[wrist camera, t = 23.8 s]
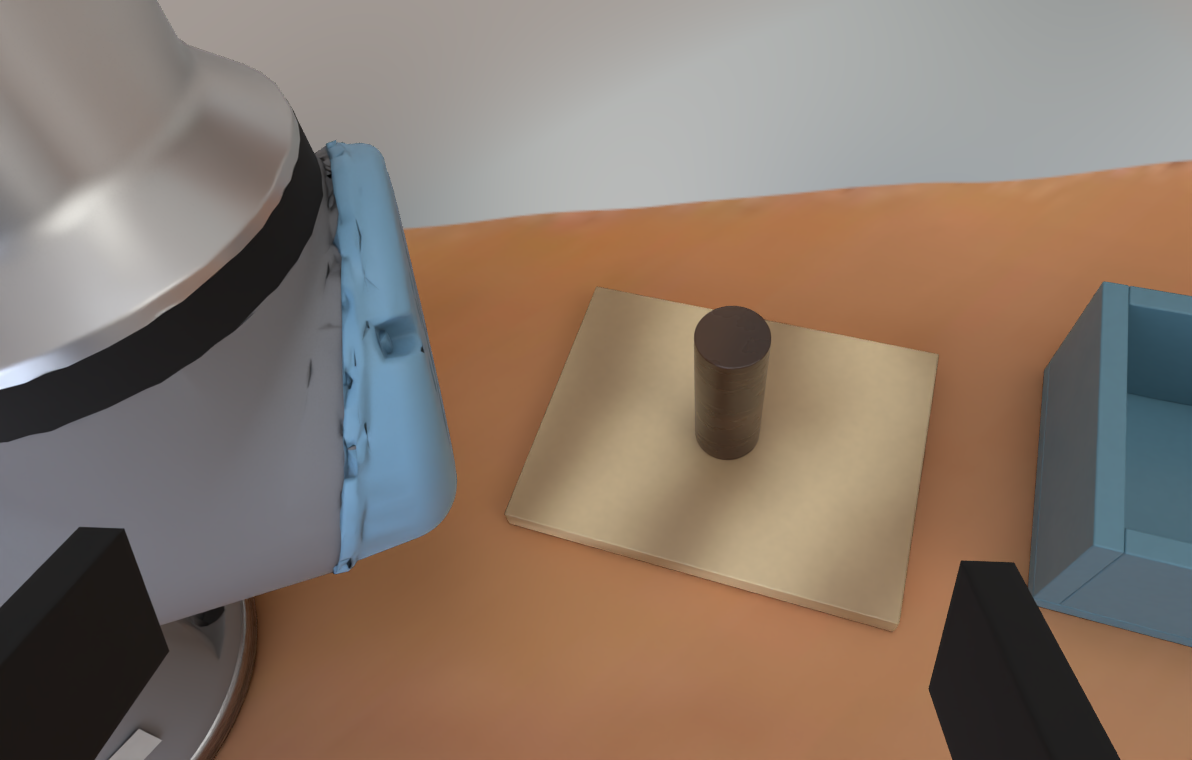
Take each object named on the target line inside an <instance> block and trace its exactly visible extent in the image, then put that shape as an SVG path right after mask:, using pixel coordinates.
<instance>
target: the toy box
mask: <svg viewBox="0 0 1192 760" xmlns="http://www.w3.org/2000/svg"><path fill="white" fill-rule="evenodd" d="M1028 589H1029V591H1030V593H1031V595H1032V597H1033V598H1034V600H1035V602H1036V604H1037V606H1039V607H1043V608H1047V609H1051V610H1054V611H1058V612H1062V613H1066V614H1069V615H1073V616H1077V617H1081V618H1085V619H1088V620H1092V621H1096V622H1100V623H1103V624H1107V625H1111V626H1115V627H1118V628H1122V629H1126V630H1130V631H1134V632H1137V633H1141V634H1145V635H1149V636H1152V637H1156V638H1160V639H1164V640H1167V641H1171V642H1175V643H1179V644H1183V645H1186V646H1190V647H1192V296H1187V295H1181V294H1175V293H1169V292H1163V291H1157V290H1151V289H1146V288H1140V287H1134V286H1130V287H1129V286H1128V285H1122V284H1116V283H1111V282H1103V283H1102V284H1101V286H1100V287H1099V289H1098V290H1097V292H1096V293H1095V295H1094V296H1093V298H1092V299H1091V301H1090V302H1089V304H1088V305H1087V307H1086V308H1085V310H1084V311H1083V313H1082V314H1081V316H1080V317H1079V319H1078V320H1077V322H1076V323H1075V325H1074V326H1073V328H1072V329H1071V331H1070V332H1069V334H1068V335H1067V337H1066V338H1065V340H1064V341H1063V343H1062V344H1061V346H1060V347H1059V349H1058V350H1057V352H1056V353H1055V355H1054V356H1053V358H1052V359H1051V361H1050V362H1049V364H1048V365H1047V367H1046V368H1045V370H1044V381H1043V394H1042V407H1041V421H1040V434H1039V447H1038V461H1037V474H1036V488H1035V501H1034V514H1033V528H1032V541H1031V554H1030V568H1029V581H1028Z"/></svg>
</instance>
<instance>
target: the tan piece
mask: <svg viewBox="0 0 1192 760" xmlns="http://www.w3.org/2000/svg"><path fill="white" fill-rule="evenodd" d="M938 358H939V355H938V354H935V353H930V352H925V351H919V350H914V349H909V348H904V347H899V346H894V345H889V344H884V343H879V342H874V341H869V340H864V339H859V338H854V337H849V336H844V335H839V334H834V333H829V332H824V331H819V330H814V329H809V328H803V327H798V326H793V325H788V324H783V323H778V322H773V321H768V320H764V319H763V318H762V317H761V316H760V315H759V314H757V313H756V312H754V311H752V310H750V309H747V308H744V307H739V306H725V307H720V308H717V309H715V310H713V309H708V308H703V307H698V306H693V305H687V304H682V303H677V302H672V301H667V300H662V299H657V298H652V297H647V296H642V295H637V294H632V293H627V292H622V291H617V290H612V289H607V288H602V287H596V289H595V292H594V294H593V297H592V299H591V302H590V304H589V306H588V309H587V311H586V314H585V316H584V319H583V321H582V324H581V326H580V329H579V331H578V334H577V336H576V339H575V341H574V343H573V346H572V348H571V351H570V353H569V356H568V358H567V361H566V363H565V366H564V368H563V371H562V373H561V376H560V378H559V380H558V383H557V385H556V388H555V390H554V393H553V395H552V398H551V400H550V403H549V405H548V408H547V410H546V413H545V415H544V418H543V420H542V422H541V425H540V427H539V430H538V432H537V435H536V437H535V440H534V442H533V445H532V447H531V450H530V452H529V455H528V457H527V459H526V462H525V464H524V467H523V469H522V472H521V474H520V477H519V479H518V482H517V484H516V487H515V489H514V492H513V494H512V497H511V499H510V501H509V504H508V506H507V509H506V511H505V516H506V518H507V520H508V521H509V523H510V524H513V525H517V526H520V527H524V528H527V529H531V530H535V531H538V532H542V533H545V534H549V535H552V536H556V537H559V538H563V539H566V540H570V541H573V542H577V543H581V544H584V545H588V546H591V547H595V548H598V549H602V550H605V551H609V552H612V553H616V554H619V555H623V556H627V557H630V558H634V559H637V560H641V561H644V562H648V563H651V564H655V565H658V566H662V567H665V568H669V569H672V570H676V571H680V572H683V573H687V574H690V575H694V576H697V577H701V578H704V579H708V580H711V581H715V582H718V583H722V584H726V585H729V586H733V587H736V588H740V589H743V590H747V591H750V592H754V593H757V594H761V595H764V596H768V597H772V598H775V599H779V600H782V601H786V602H789V603H793V604H796V605H800V606H803V607H807V608H810V609H814V610H818V611H821V612H825V613H828V614H832V615H835V616H839V617H842V618H846V619H849V620H853V621H856V622H860V623H863V624H867V625H871V626H874V627H878V628H881V629H885V630H888V631H892V632H893V631H894V630H895V629H896V628H897V626H898V625H899V622H900V616H901V609H902V602H903V595H904V588H905V582H906V575H907V568H908V561H909V555H910V548H911V541H912V534H913V527H914V521H915V514H916V507H917V500H918V493H919V487H920V480H921V473H922V466H923V460H924V453H925V446H926V439H927V432H928V426H929V419H930V412H931V405H932V398H933V392H934V385H935V378H936V371H937V365H938Z"/></svg>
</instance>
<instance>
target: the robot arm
mask: <svg viewBox="0 0 1192 760" xmlns="http://www.w3.org/2000/svg"><path fill="white" fill-rule="evenodd" d="M456 487H457V474H456V468H455V461H454V455H453V450H452V445H451V439H450V434H449V430H448V425H447V420H446V415H445V410H444V406H443V401H442V396H441V392H440V387H439V382H438V378H437V373H436V369H435V364H434V360H433V355H432V351H431V346H430V342H429V337H428V333H427V329H426V324H425V320H424V315H423V311H422V307H421V303H420V298H419V294H418V290H417V286H416V282H415V278H414V273H413V269H412V264H411V260H410V256H409V251H408V247H407V243H406V239H405V235H404V230H403V226H402V223H401V218H400V214H399V211H398V206H397V202H396V199H395V195H394V191H393V187H392V184H391V181H390V177H389V174H388V172H387V169H386V165H385V161H384V157H383V156H382V154H381V153H380V151H379V150H378V149H377V148H375V147H374V146H372V145H370V144H364V143H355V144H345V143H343V142H341V143H336V140H335V141H332V142H329V143H327V144H326V146H325V147H323V148H322V149H321V150H319V151H318V152H316V153H314V152H313V150H312V148H311V146H310V144H309V142H308V140H307V138H306V136H305V134H304V132H303V130H302V128H301V126H300V124H299V122H298V120H297V118H296V116H295V113H294V111H293V109H292V107H291V106H290V104H289V103H288V101H287V99H286V98H285V97H284V95H283V94H282V92H281V91H280V89H279V88H278V86H277V85H276V83H275V82H274V81H272V80H271V79H270V78H268V77H267V76H266V75H264V74H263V73H262V72H260V71H258V70H256V69H254V68H252V67H250V66H248V65H245V64H243V63H240V62H237V61H234V60H231V59H228V58H225V57H222V56H220V55H216V54H214V53H211V52H208V51H205V50H202V49H199V48H196V47H193V46H190V45H187V44H186V43H185V42H183V41H182V40H180V39H179V38H178V37H177V35H176V34H175V32H174V30H173V28H172V26H171V25H170V23H169V21H168V19H167V18H166V16H165V14H164V12H163V10H162V8H161V7H160V5H159V3H158V1H157V0H0V760H212V759H213V758H214V757H215V755H216V753H217V752H218V750H219V749H220V747H221V746H222V744H223V742H224V741H225V739H226V737H227V735H228V733H229V732H230V730H231V728H232V726H233V724H234V722H235V720H236V718H237V715H238V713H239V711H240V709H241V706H242V704H243V701H244V698H245V695H246V693H247V690H248V687H249V683H250V679H251V675H252V672H253V667H254V661H255V655H256V647H257V614H256V606H255V601H254V596H257V595H260V594H264V593H267V592H270V591H273V590H276V589H280V588H283V587H286V586H289V585H293V584H296V583H299V582H302V581H306V580H309V579H312V578H315V577H319V576H322V575H325V574H328V573H332V572H333V574H339V573H343V572H348V571H349V570H350V569H352V568H353V567H354V565H355V564H356V562H357V561H358V560H361V559H363V558H366V557H369V556H371V555H374V554H376V553H379V552H382V551H384V550H387V549H390V548H392V547H395V546H397V545H400V544H403V543H405V542H408V541H410V540H413V539H416V538H418V537H420V536H423V535H425V534H426V533H428V532H430V531H431V530H433V529H434V528H435V527H437V526H438V525H439V524H440V523H441V522H442V520H443V519H444V518H445V517H446V515H447V514H448V512H449V510H450V508H451V506H452V504H453V502H454V499H455V494H456ZM929 692H930V695H931V698H932V701H933V704H934V707H935V710H936V713H937V716H938V718H939V721H940V724H941V727H942V730H943V733H944V736H945V739H946V742H947V745H948V748H949V751H950V754H951V757H952V760H1120V758H1119V756H1118V754H1117V752H1116V750H1115V749H1114V747H1113V745H1112V743H1111V741H1110V739H1109V737H1108V736H1107V734H1106V732H1105V730H1104V728H1103V726H1102V725H1101V723H1100V721H1099V719H1098V717H1097V715H1096V713H1095V712H1094V710H1093V708H1092V706H1091V704H1090V702H1089V700H1088V699H1087V697H1086V695H1085V693H1084V691H1083V689H1082V687H1081V686H1080V684H1079V682H1078V680H1077V678H1076V676H1075V674H1074V673H1073V671H1072V669H1071V667H1070V665H1069V663H1068V661H1067V660H1066V658H1065V656H1064V654H1063V652H1062V650H1061V648H1060V647H1059V645H1058V643H1057V641H1056V639H1055V637H1054V636H1053V634H1052V632H1051V630H1050V628H1049V626H1048V624H1047V623H1046V621H1045V619H1044V617H1043V615H1042V613H1041V611H1040V610H1039V608H1038V606H1037V604H1036V602H1035V600H1034V598H1033V597H1032V595H1031V593H1030V591H1029V589H1028V587H1027V585H1026V584H1025V582H1024V580H1023V578H1022V576H1021V574H1020V572H1019V571H1018V569H1017V567H1016V565H1015V563H1012V562H986V561H961V563H960V567H959V571H958V575H957V579H956V583H955V587H954V590H953V594H952V598H951V602H950V606H949V610H948V614H947V618H946V622H945V626H944V630H943V634H942V638H941V642H940V646H939V650H938V654H937V658H936V662H935V666H934V670H933V673H932V677H931V681H930V685H929Z"/></svg>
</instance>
